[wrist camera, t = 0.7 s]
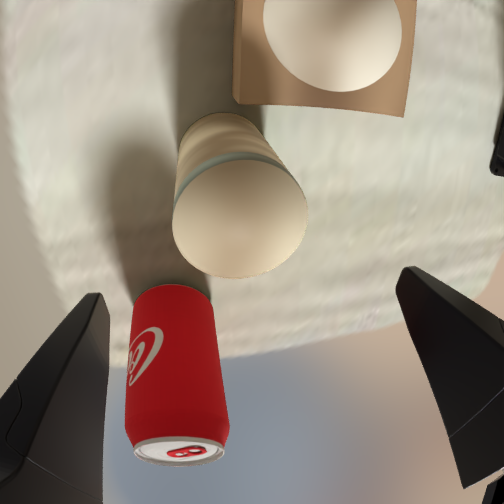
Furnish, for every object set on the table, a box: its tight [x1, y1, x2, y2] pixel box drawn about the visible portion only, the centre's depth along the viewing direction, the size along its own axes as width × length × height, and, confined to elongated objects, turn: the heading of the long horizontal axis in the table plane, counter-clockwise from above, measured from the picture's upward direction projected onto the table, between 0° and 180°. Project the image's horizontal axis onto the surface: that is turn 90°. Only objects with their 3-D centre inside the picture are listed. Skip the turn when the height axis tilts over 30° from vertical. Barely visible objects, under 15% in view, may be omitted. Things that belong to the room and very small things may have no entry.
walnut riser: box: [232, 0, 417, 117], centre depth 13 cm, size 9×9×3 cm
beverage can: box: [125, 284, 230, 467], centre depth 20 cm, size 6×6×12 cm
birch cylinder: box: [172, 112, 308, 279], centre depth 15 cm, size 5×5×8 cm
